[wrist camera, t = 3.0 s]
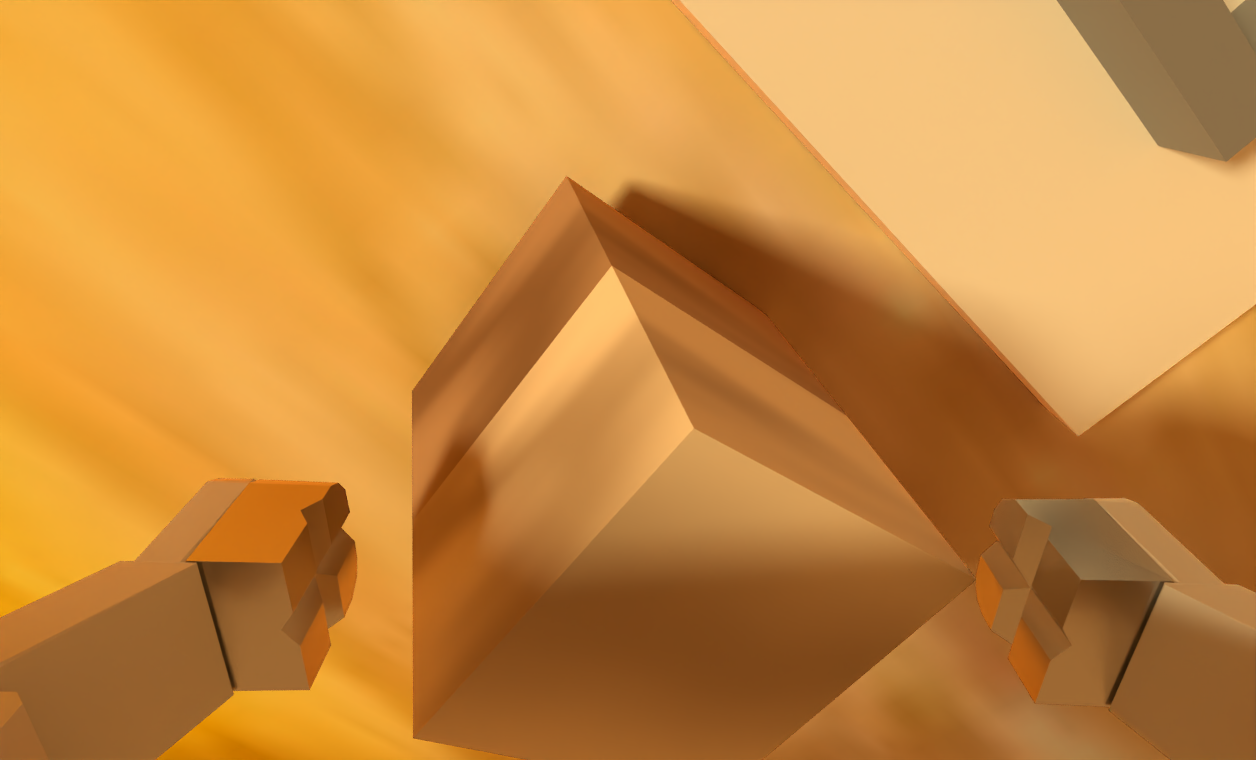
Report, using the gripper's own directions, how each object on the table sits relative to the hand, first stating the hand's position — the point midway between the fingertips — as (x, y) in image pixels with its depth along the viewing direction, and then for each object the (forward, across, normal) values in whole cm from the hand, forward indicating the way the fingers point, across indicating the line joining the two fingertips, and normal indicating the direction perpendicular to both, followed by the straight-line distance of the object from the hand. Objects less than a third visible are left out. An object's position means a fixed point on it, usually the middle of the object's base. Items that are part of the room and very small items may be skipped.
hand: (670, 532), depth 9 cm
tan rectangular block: (+6, +1, 0) cm, 6 cm away
